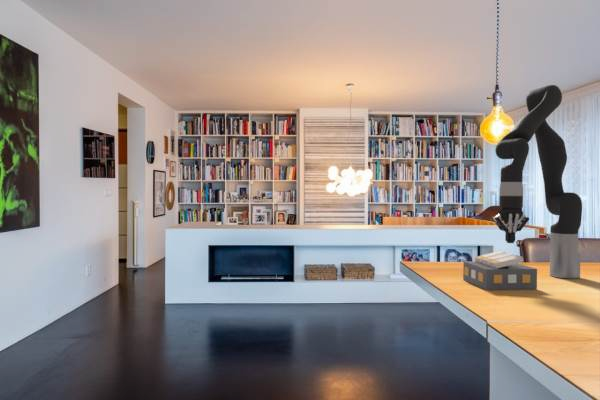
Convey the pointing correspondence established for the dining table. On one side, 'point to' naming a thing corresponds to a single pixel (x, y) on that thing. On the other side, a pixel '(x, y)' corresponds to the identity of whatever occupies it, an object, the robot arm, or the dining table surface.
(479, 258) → the white rectangular block
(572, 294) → the dining table surface
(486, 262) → the rocker
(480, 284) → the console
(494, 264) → the rocker
